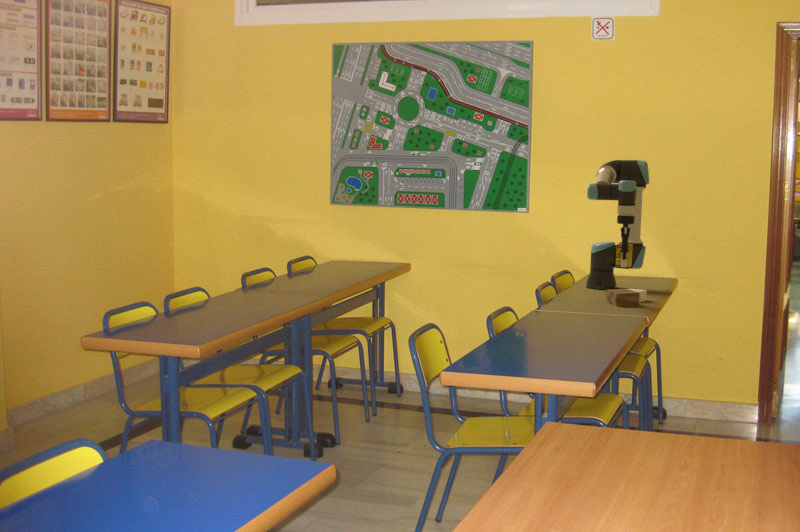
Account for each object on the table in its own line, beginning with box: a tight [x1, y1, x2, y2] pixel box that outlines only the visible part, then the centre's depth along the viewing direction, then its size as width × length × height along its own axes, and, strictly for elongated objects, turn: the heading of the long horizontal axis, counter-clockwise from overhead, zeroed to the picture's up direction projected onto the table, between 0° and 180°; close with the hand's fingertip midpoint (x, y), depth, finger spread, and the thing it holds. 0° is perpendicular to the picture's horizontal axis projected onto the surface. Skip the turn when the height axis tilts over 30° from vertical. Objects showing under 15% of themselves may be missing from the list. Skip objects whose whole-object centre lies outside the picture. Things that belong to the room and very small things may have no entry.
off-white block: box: [628, 288, 647, 303], centre depth 403 cm, size 8×8×5 cm
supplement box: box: [615, 242, 633, 270], centre depth 390 cm, size 6×6×11 cm
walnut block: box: [604, 288, 640, 307], centre depth 392 cm, size 11×11×6 cm
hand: (623, 265), depth 390 cm, fingers closed on supplement box, 7 cm apart
